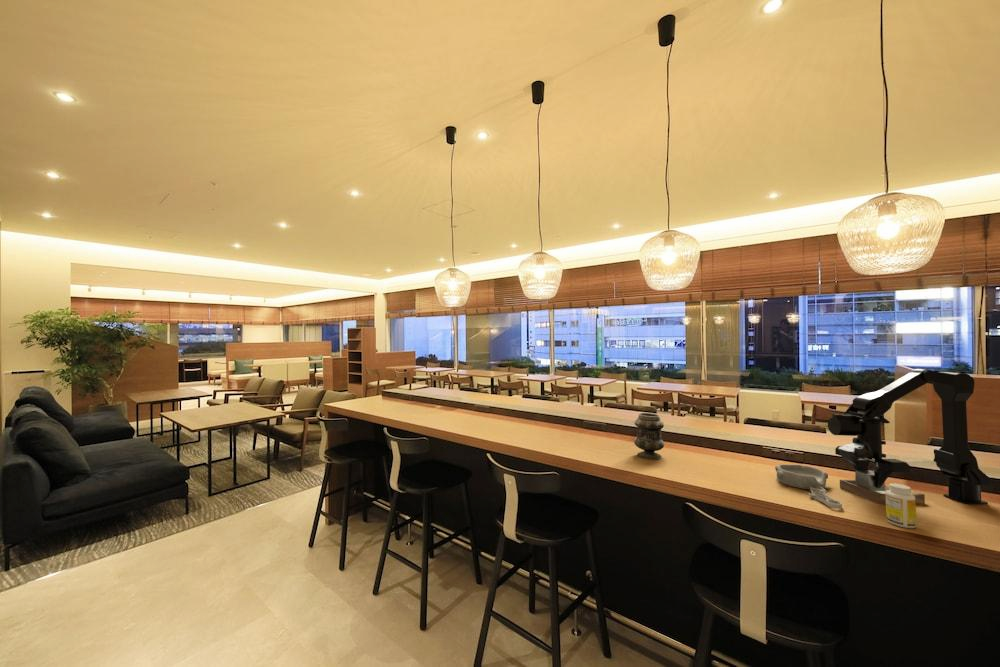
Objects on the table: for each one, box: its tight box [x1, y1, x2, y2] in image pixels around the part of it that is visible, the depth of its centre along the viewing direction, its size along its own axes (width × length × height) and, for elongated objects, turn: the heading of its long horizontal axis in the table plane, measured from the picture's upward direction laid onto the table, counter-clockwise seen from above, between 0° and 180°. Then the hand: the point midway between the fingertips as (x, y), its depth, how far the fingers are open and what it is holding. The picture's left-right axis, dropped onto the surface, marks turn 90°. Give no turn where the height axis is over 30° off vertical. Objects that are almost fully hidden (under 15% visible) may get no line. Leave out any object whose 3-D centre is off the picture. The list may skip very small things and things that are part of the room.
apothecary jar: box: [633, 412, 665, 461], centre depth 162 cm, size 12×12×18 cm
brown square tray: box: [839, 479, 926, 505], centre depth 120 cm, size 14×13×3 cm
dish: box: [774, 463, 829, 490], centre depth 130 cm, size 14×14×5 cm
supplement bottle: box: [885, 482, 917, 529], centre depth 101 cm, size 6×6×10 cm
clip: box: [854, 469, 886, 491], centre depth 120 cm, size 5×4×5 cm
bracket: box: [807, 486, 843, 510], centre depth 117 cm, size 8×2×15 cm
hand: (870, 485), depth 120 cm, fingers closed on clip, 4 cm apart
